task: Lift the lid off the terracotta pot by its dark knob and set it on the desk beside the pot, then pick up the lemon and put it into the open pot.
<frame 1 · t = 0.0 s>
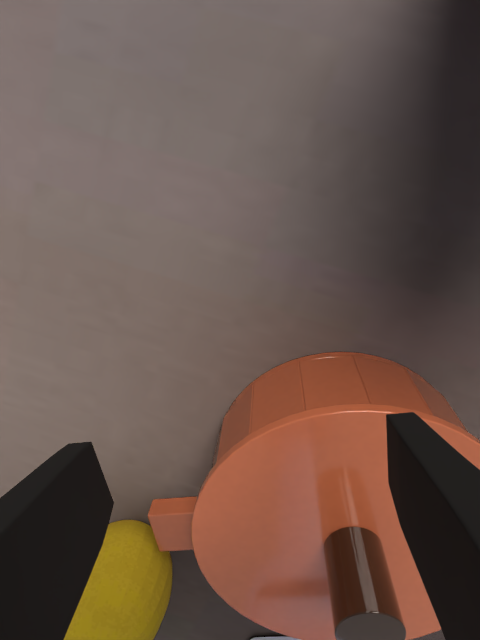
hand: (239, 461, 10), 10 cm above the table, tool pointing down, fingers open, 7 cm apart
pot: (334, 455, 22), on the table
lemon: (140, 520, 26), on the table
pot lid: (350, 536, 18), point 5 cm above the table, touching pot
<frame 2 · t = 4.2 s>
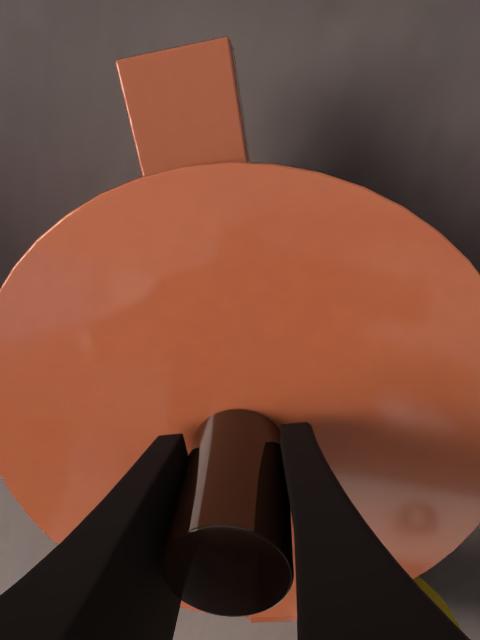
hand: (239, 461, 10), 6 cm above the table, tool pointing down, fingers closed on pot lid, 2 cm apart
pot: (249, 348, 16), on the table
lemon: (371, 559, 20), on the table
pot lid: (240, 434, 11), point 5 cm above the table, touching gripper, pot
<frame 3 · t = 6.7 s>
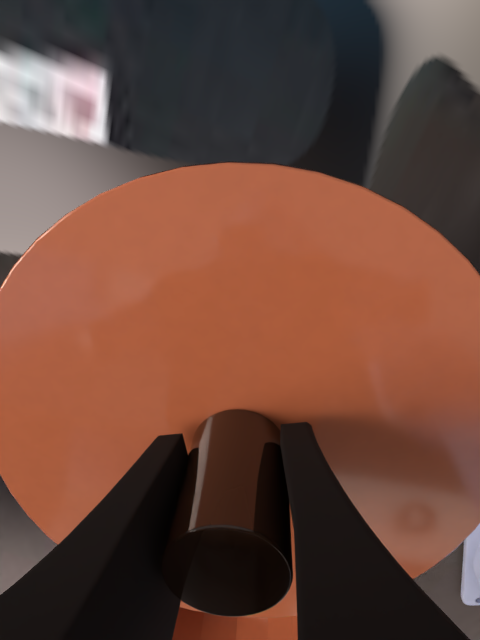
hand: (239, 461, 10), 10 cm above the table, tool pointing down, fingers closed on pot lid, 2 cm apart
pot: (207, 530, 26), on the table
pot lid: (240, 435, 11), point 9 cm above the table, touching gripper
when the fingers open (2 cm above the table, at t = 9.2 s): pot lid stays where it is, point 1 cm above the table.
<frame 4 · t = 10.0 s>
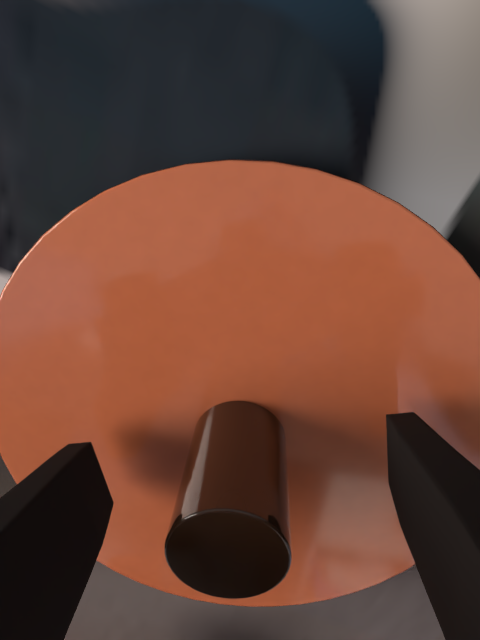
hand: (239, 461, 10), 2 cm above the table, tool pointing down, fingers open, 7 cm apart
pot lid: (240, 426, 11), point 1 cm above the table
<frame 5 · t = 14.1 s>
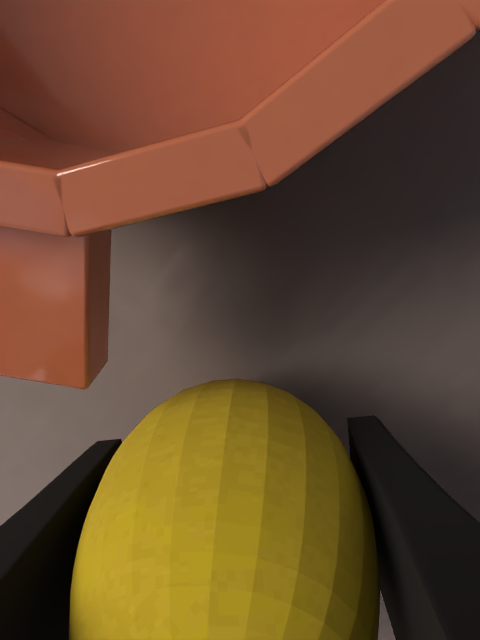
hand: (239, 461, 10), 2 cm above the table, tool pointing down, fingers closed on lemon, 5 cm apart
lemon: (243, 408, 12), on the table, touching gripper
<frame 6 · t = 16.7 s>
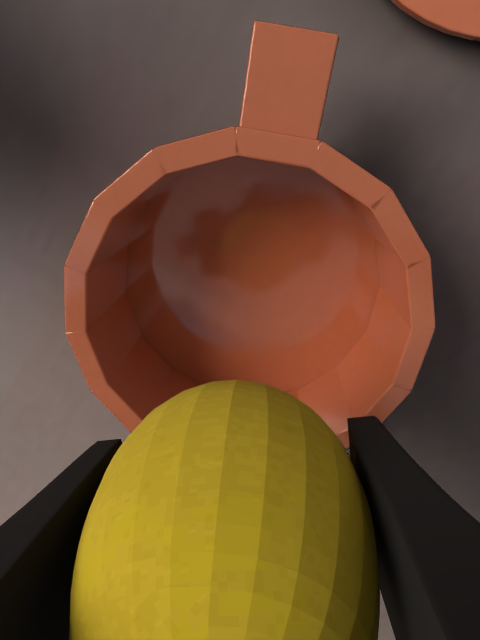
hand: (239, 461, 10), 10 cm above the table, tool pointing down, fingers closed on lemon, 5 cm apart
pot: (250, 285, 19), on the table
lemon: (243, 408, 12), point 8 cm above the table, touching gripper
when the fingers open (2 cm above the table, at t = 19.2 s): lemon stays where it is, resting on pot.
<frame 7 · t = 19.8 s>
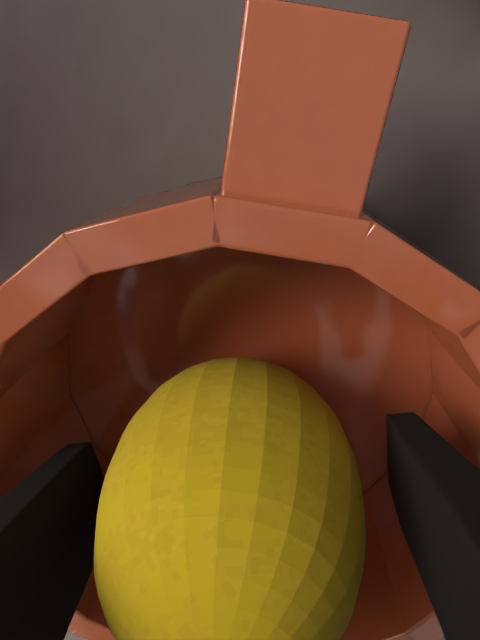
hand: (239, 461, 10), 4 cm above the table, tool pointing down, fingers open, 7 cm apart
pot: (246, 383, 13), on the table
lemon: (244, 388, 13), resting on pot
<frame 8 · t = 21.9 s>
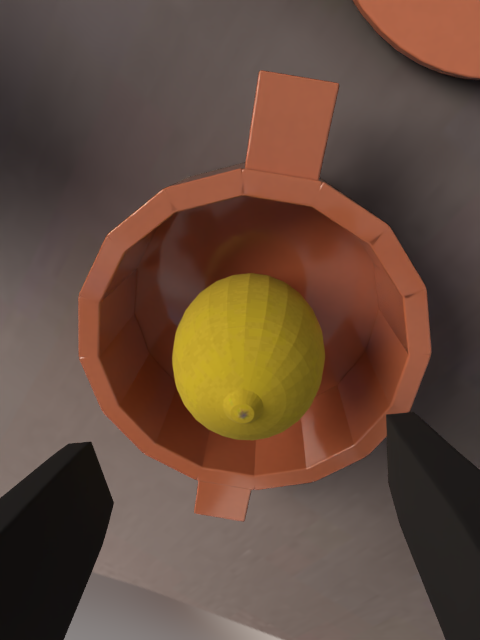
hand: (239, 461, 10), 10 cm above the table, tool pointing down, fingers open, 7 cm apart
pot: (254, 306, 20), on the table
lemon: (253, 308, 19), resting on pot
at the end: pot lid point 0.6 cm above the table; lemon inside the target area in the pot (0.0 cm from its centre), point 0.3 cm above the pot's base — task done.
